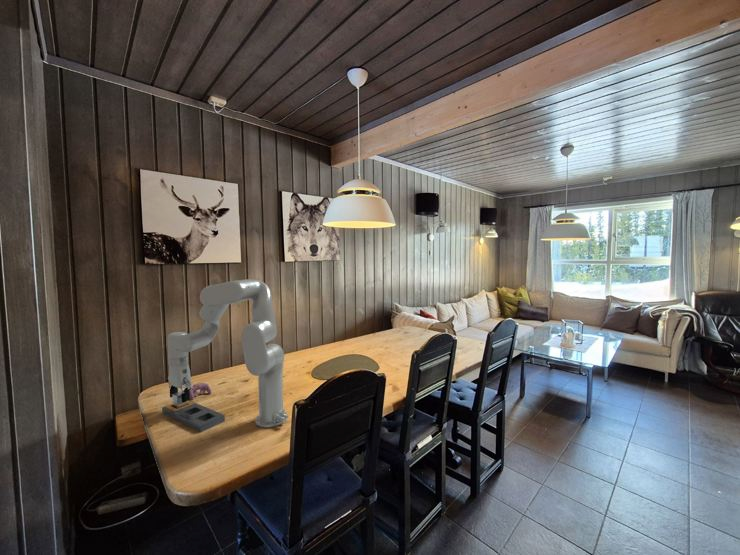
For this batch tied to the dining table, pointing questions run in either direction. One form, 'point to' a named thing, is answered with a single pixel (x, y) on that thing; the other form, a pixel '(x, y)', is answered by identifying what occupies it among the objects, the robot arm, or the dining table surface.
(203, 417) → the grey flat slotted plate
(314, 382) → the dining table surface
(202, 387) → the video game controller
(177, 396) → the steel block
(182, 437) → the dining table surface
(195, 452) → the dining table surface
